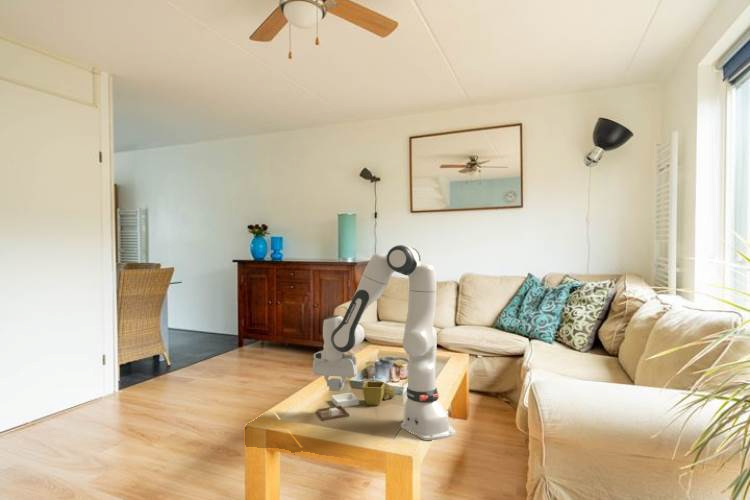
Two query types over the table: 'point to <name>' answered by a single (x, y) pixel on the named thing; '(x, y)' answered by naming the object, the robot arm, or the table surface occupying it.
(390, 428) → the table surface
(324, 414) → the gravel tray
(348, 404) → the grey bin
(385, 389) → the seashell
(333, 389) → the pebble
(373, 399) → the flower pot
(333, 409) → the small pebble
